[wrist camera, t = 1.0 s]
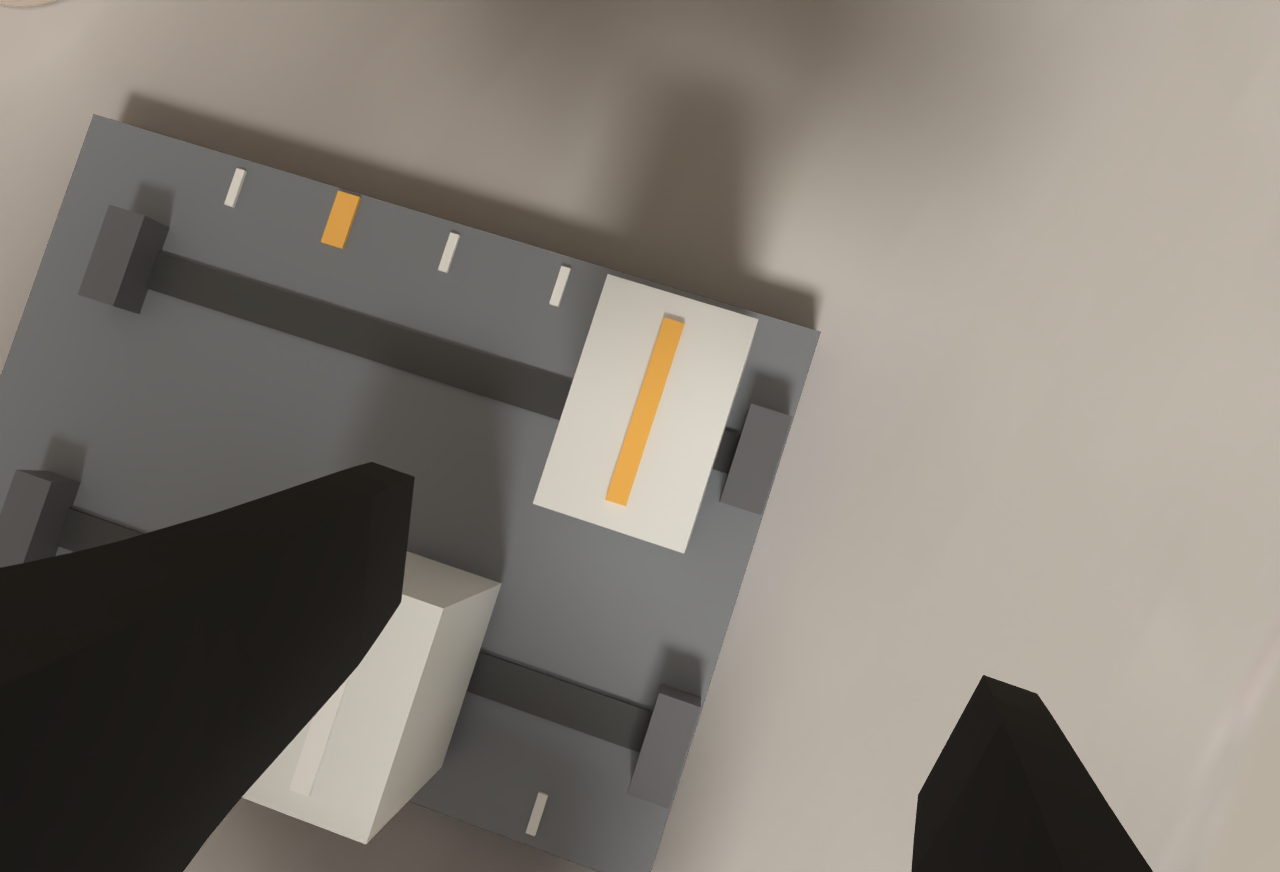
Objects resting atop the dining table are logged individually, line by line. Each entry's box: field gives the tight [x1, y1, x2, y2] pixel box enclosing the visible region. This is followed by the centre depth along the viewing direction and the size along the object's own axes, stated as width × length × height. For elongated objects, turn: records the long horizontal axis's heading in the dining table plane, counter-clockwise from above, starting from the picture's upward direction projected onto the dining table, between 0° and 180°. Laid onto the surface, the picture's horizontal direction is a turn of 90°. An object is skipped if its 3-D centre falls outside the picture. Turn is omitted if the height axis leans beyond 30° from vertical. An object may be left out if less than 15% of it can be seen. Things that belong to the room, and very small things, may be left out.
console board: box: [0, 114, 821, 872], centre depth 22 cm, size 14×20×2 cm
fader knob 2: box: [533, 274, 759, 553], centre depth 18 cm, size 5×3×5 cm, turn 162°
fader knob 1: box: [241, 551, 502, 844], centre depth 19 cm, size 5×3×5 cm, turn 162°
